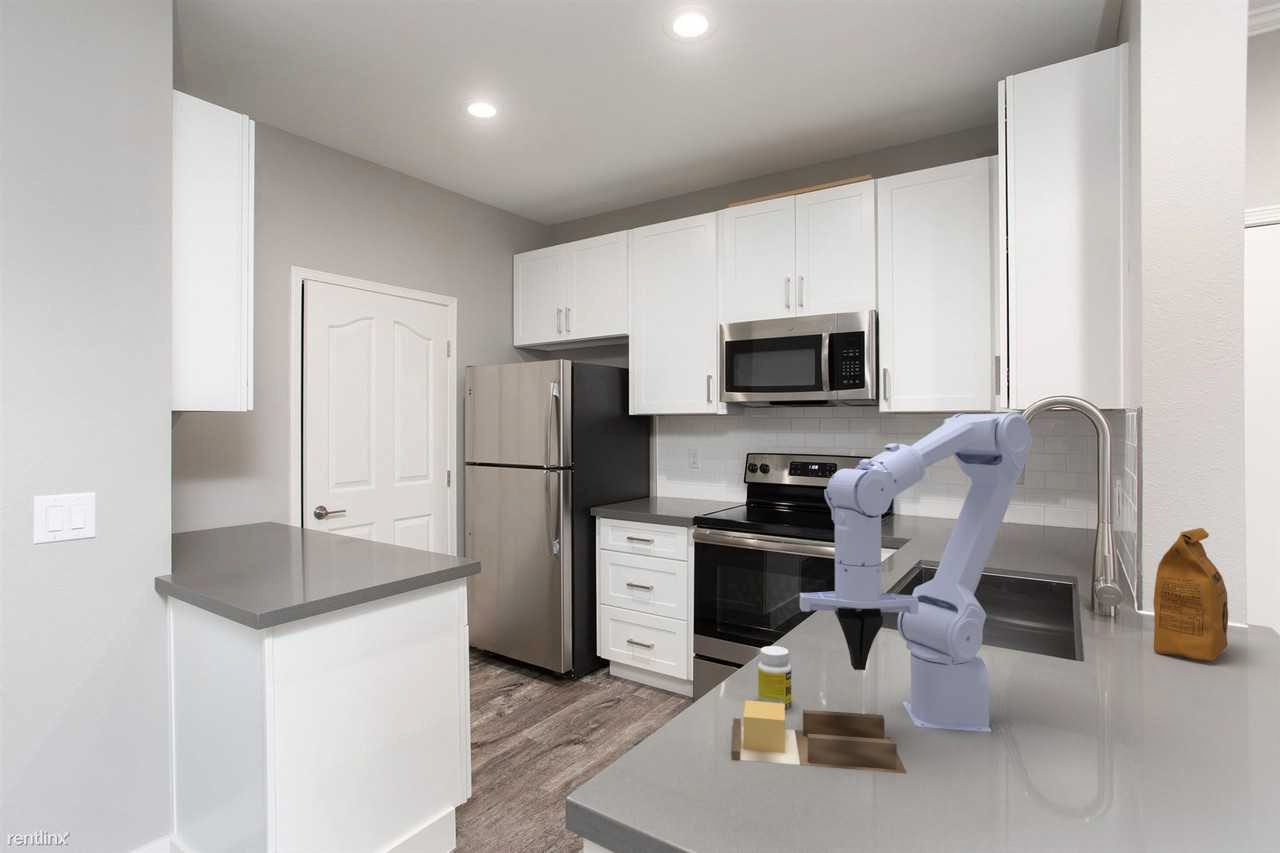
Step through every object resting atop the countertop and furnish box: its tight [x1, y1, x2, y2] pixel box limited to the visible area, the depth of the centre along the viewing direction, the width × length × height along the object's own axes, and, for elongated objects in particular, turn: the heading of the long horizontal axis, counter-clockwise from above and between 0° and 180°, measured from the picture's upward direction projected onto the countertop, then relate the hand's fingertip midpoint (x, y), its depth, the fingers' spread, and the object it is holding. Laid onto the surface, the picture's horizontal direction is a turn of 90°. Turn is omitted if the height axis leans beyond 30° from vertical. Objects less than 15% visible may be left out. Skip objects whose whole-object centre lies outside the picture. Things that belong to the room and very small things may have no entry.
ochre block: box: [743, 700, 786, 753], centre depth 83 cm, size 5×5×4 cm
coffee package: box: [1152, 527, 1229, 662], centre depth 117 cm, size 10×12×22 cm
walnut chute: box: [731, 709, 908, 774], centre depth 82 cm, size 20×9×4 cm, turn 81°
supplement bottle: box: [757, 645, 792, 713], centre depth 94 cm, size 5×5×8 cm
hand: (858, 667), depth 85 cm, fingers closed
